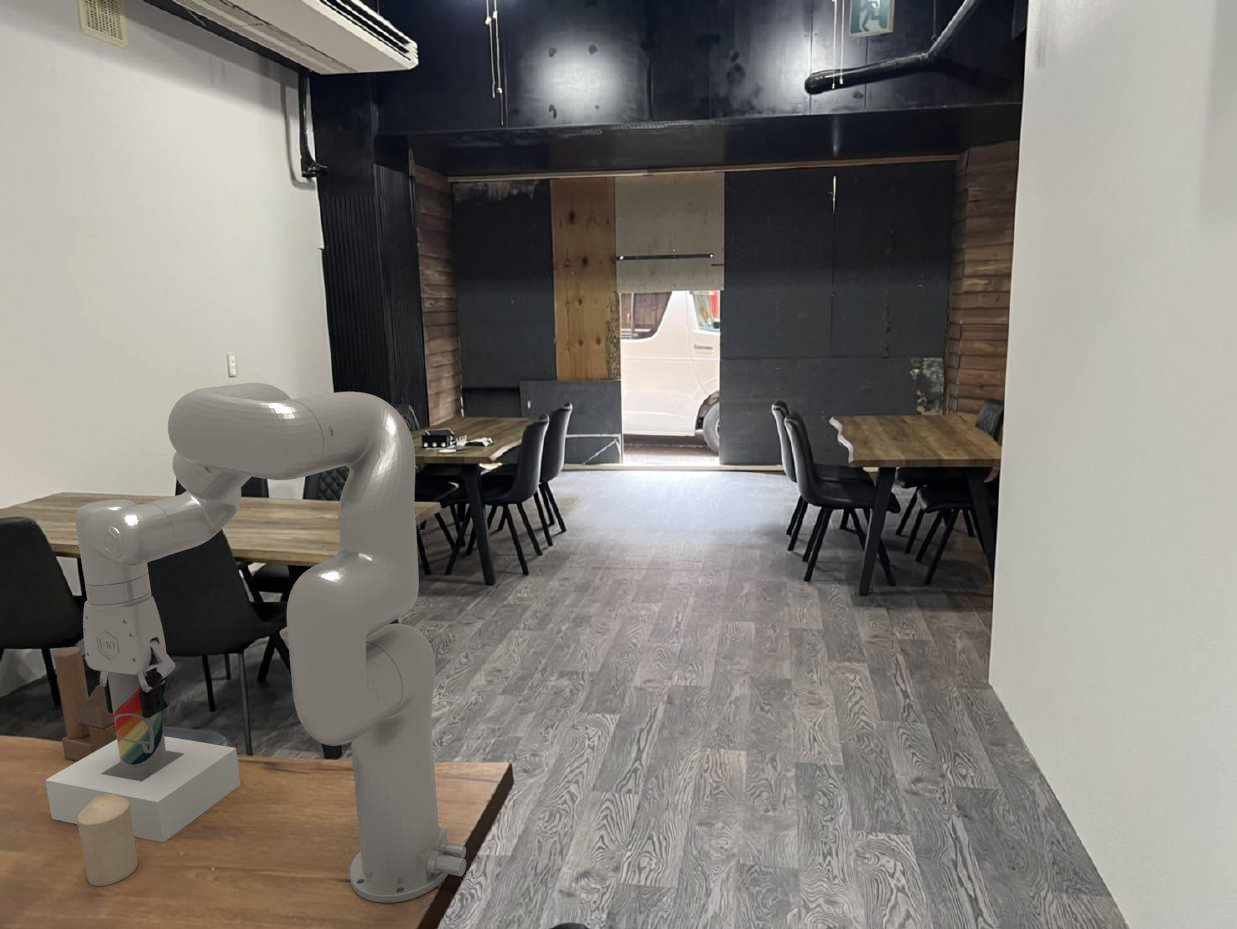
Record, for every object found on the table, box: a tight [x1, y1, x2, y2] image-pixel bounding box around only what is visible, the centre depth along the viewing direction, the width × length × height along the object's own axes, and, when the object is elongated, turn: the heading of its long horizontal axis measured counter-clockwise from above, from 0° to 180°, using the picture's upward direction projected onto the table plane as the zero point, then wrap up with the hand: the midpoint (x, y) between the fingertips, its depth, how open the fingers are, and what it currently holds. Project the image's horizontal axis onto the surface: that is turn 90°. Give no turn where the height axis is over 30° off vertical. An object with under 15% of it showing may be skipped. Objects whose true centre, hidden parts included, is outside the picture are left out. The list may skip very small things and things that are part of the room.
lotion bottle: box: [107, 660, 166, 768], centre depth 115 cm, size 6×6×20 cm
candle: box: [77, 794, 139, 887], centre depth 102 cm, size 6×6×10 cm
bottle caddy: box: [45, 735, 241, 844], centre depth 117 cm, size 20×14×6 cm
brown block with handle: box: [53, 646, 117, 762], centre depth 128 cm, size 4×11×18 cm, turn 67°
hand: (136, 710), depth 115 cm, fingers closed on lotion bottle, 5 cm apart
